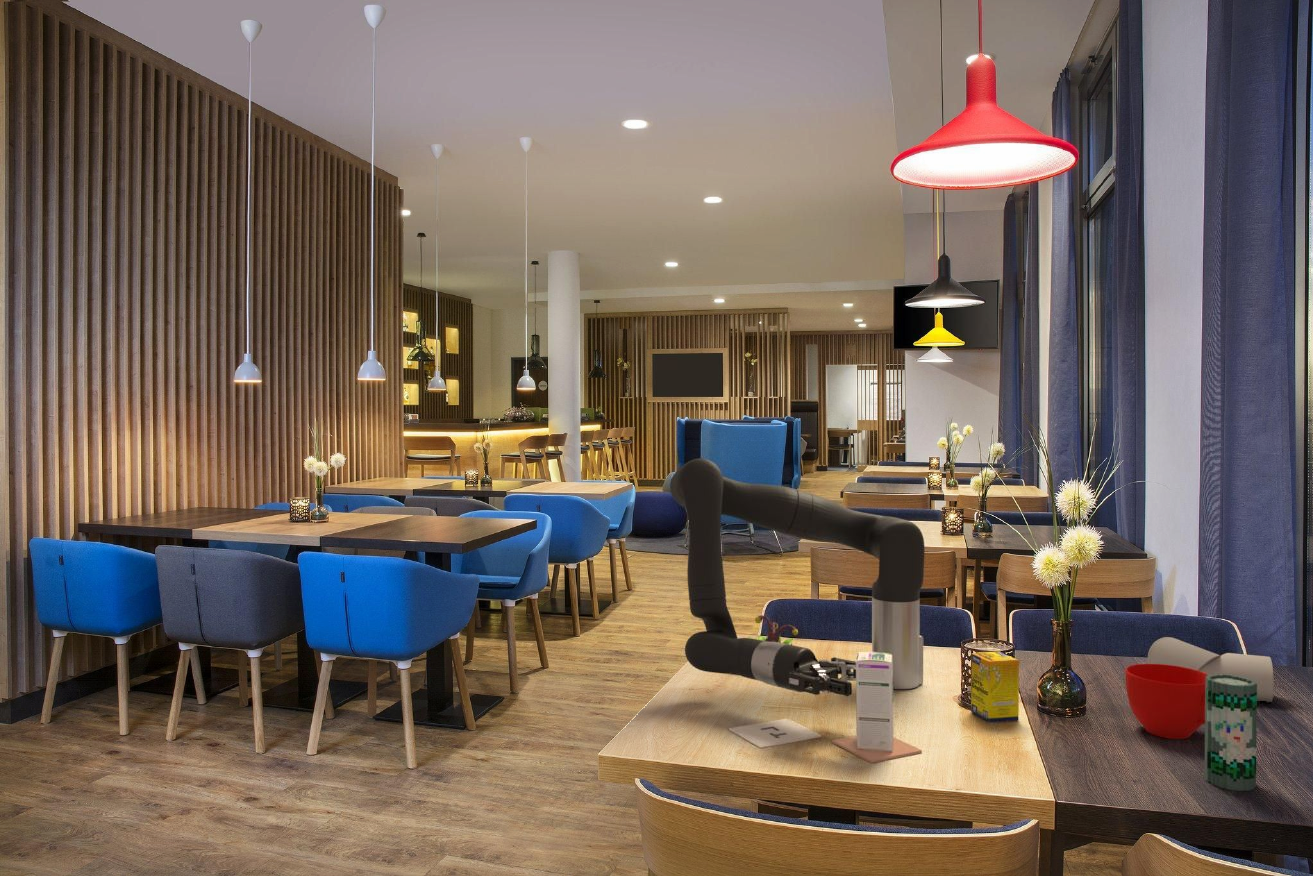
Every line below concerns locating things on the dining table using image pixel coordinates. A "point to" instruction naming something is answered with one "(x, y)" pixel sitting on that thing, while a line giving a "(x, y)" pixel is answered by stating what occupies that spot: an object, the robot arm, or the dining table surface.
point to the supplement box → (995, 687)
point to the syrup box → (874, 701)
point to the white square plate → (774, 733)
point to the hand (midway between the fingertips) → (864, 683)
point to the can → (1230, 731)
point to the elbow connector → (1215, 663)
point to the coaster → (876, 756)
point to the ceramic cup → (1167, 698)
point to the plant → (772, 634)
